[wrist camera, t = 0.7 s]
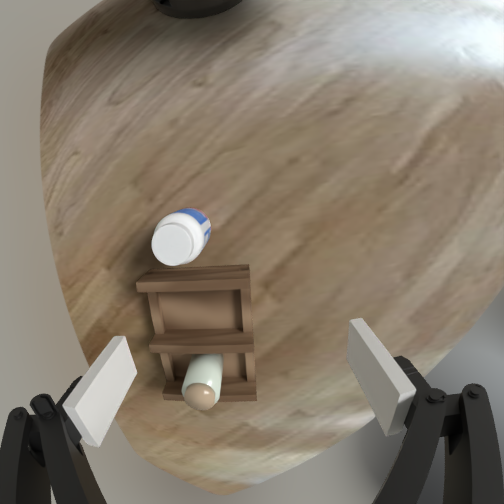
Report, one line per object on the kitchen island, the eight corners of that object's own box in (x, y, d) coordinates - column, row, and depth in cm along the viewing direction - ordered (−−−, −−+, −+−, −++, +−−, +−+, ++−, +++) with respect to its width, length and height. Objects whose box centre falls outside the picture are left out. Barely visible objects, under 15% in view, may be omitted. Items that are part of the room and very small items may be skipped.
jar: (190, 344, 37) (176, 385, 28) (222, 344, 37) (216, 385, 28) (194, 370, 38) (183, 412, 29) (225, 370, 38) (220, 413, 29)
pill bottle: (164, 216, 35) (135, 227, 25) (202, 200, 34) (185, 206, 25) (180, 256, 36) (157, 279, 26) (218, 241, 35) (207, 261, 26)
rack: (150, 269, 36) (135, 282, 31) (249, 264, 36) (249, 278, 31) (172, 377, 40) (164, 399, 35) (255, 376, 40) (256, 400, 35)
